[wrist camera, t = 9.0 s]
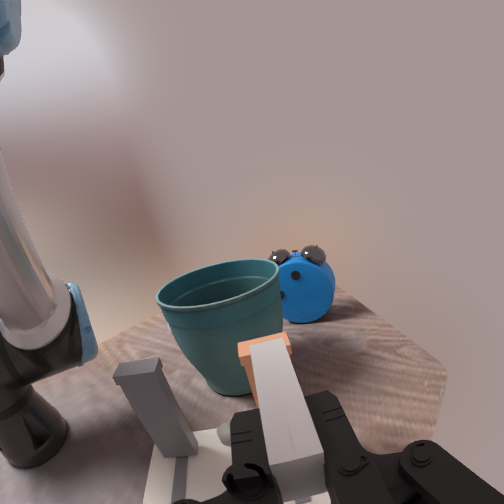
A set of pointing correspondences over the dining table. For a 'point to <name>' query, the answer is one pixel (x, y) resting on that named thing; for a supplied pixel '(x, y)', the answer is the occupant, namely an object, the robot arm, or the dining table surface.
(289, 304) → the alarm clock
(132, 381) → the gray capped upright block
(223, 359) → the flower pot
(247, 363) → the terracotta paddle
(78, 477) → the dining table surface
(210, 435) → the console
